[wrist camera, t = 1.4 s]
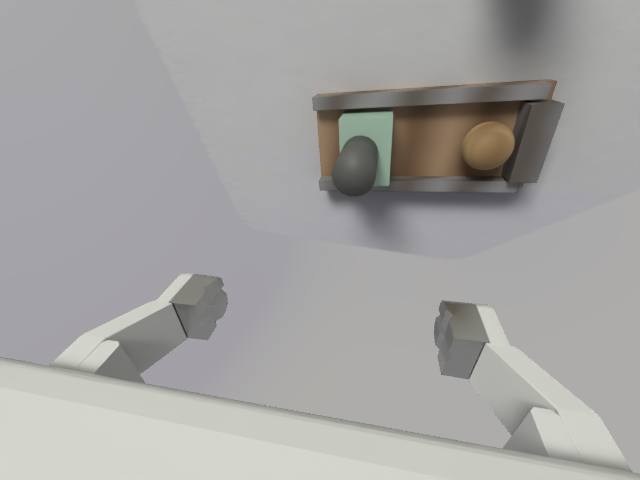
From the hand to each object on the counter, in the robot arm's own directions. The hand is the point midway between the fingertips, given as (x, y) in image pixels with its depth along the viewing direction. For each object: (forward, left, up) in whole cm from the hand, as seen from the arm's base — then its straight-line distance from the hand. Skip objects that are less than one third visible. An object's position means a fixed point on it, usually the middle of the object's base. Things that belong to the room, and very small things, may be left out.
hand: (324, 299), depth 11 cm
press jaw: (0, +1, -25) cm, 25 cm away
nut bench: (-6, +1, -26) cm, 27 cm away
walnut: (-11, +1, -23) cm, 25 cm away
